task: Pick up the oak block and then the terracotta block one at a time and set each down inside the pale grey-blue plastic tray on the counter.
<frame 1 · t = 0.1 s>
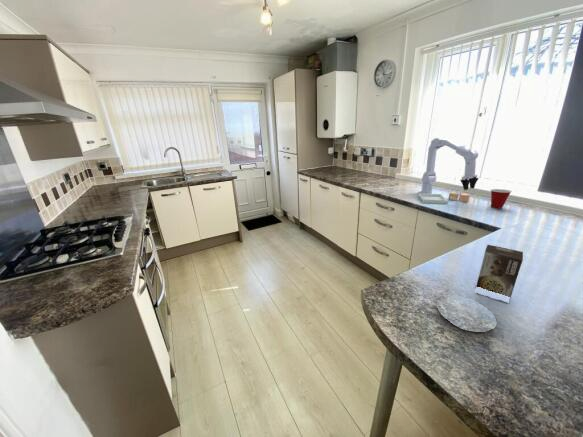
hand: (468, 189, 169), 10 cm above the worktop, tool pointing down, fingers open, 7 cm apart
oak block: (452, 199, 183), on the worktop
coffee box: (491, 294, 82), on the worktop
terracotta block: (463, 200, 179), on the worktop
plastic cup: (496, 207, 163), on the worktop
grey tray: (431, 199, 183), on the worktop
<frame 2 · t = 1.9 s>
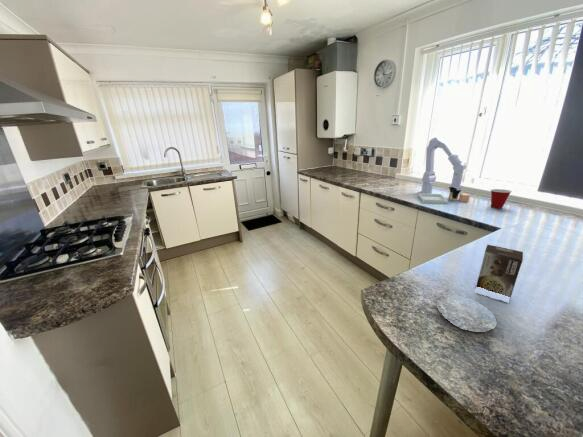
hand: (453, 197, 182), 1 cm above the worktop, tool pointing down, fingers closed on oak block, 4 cm apart
oak block: (452, 199, 183), on the worktop, touching gripper
everything else where it was.
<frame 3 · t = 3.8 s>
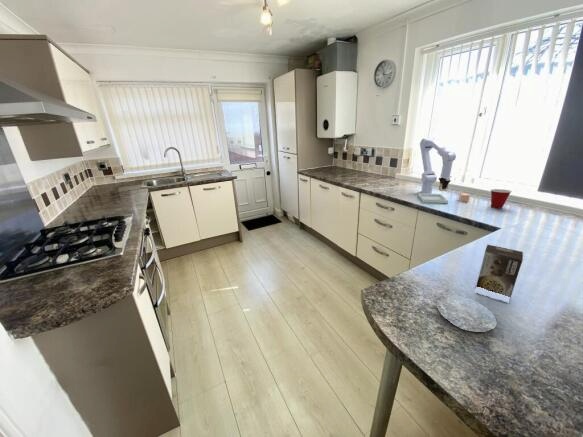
hand: (442, 188, 182), 8 cm above the worktop, tool pointing down, fingers closed on oak block, 4 cm apart
oak block: (442, 190, 182), point 7 cm above the worktop, touching gripper
everything else where it was.
when the fingers open (3 cm above the worktop, at t = 5.8 s): oak block drops 1 cm, resting on grey tray.
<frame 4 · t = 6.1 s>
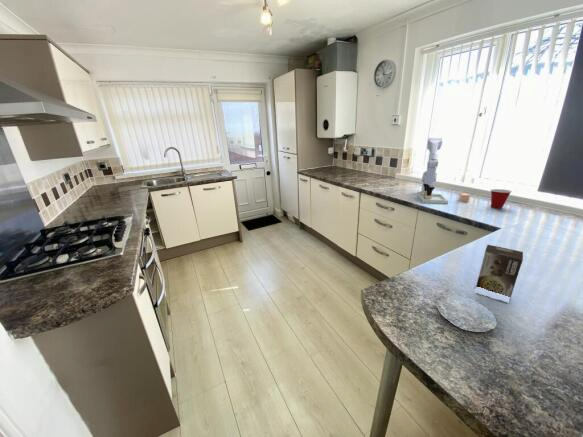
hand: (427, 194, 185), 3 cm above the worktop, tool pointing down, fingers open, 7 cm apart
oak block: (427, 198, 186), resting on grey tray
everything else where it was.
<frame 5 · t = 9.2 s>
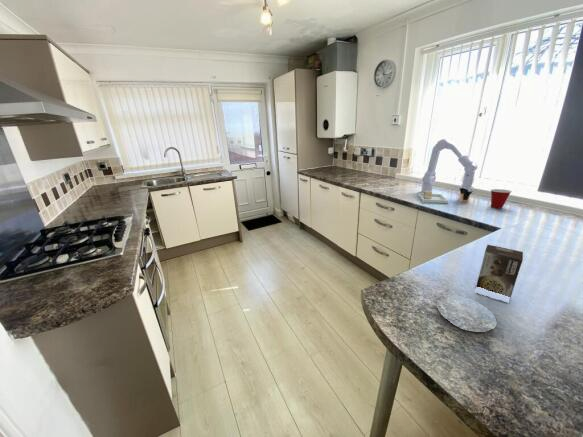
hand: (463, 198, 178), 1 cm above the worktop, tool pointing down, fingers closed on terracotta block, 4 cm apart
terracotta block: (463, 200, 178), on the worktop, touching gripper
everything else where it was.
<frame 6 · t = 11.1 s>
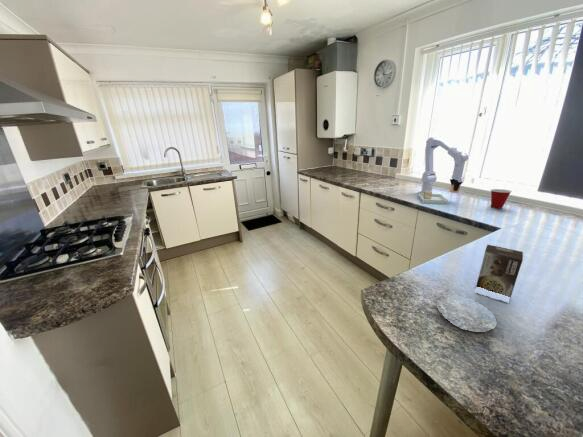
hand: (454, 189, 176), 8 cm above the worktop, tool pointing down, fingers closed on terracotta block, 4 cm apart
terracotta block: (454, 191, 177), point 7 cm above the worktop, touching gripper
everything else where it was.
when the fingers open (3 cm above the worktop, at t = 13.1 s): terracotta block drops 1 cm, resting on grey tray.
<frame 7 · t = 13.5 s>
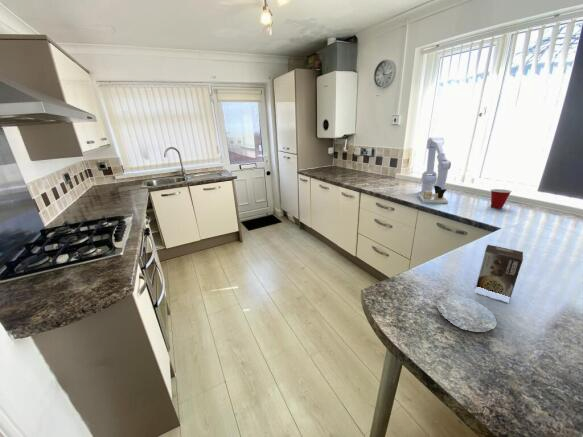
hand: (438, 196, 178), 3 cm above the worktop, tool pointing down, fingers open, 7 cm apart
terracotta block: (438, 200, 179), resting on grey tray
everything else where it was.
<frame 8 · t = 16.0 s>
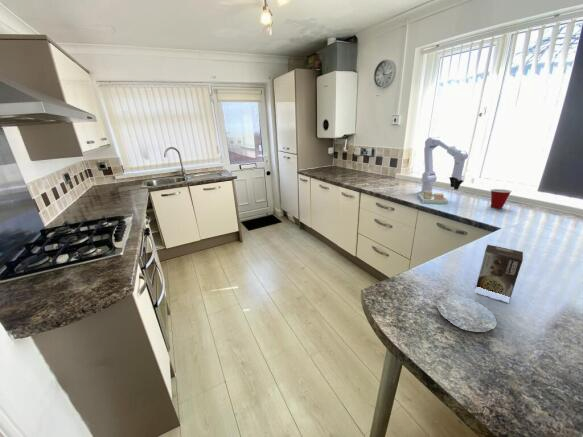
hand: (454, 188, 176), 9 cm above the worktop, tool pointing down, fingers open, 7 cm apart
nothing on the worktop moved.
at the end: oak block inside the target area on the grey tray (4.0 cm from its centre), point 0.5 cm above the grey tray's base; terracotta block inside the target area on the grey tray (4.5 cm from its centre), point 0.5 cm above the grey tray's base; the gripper is holding nothing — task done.
